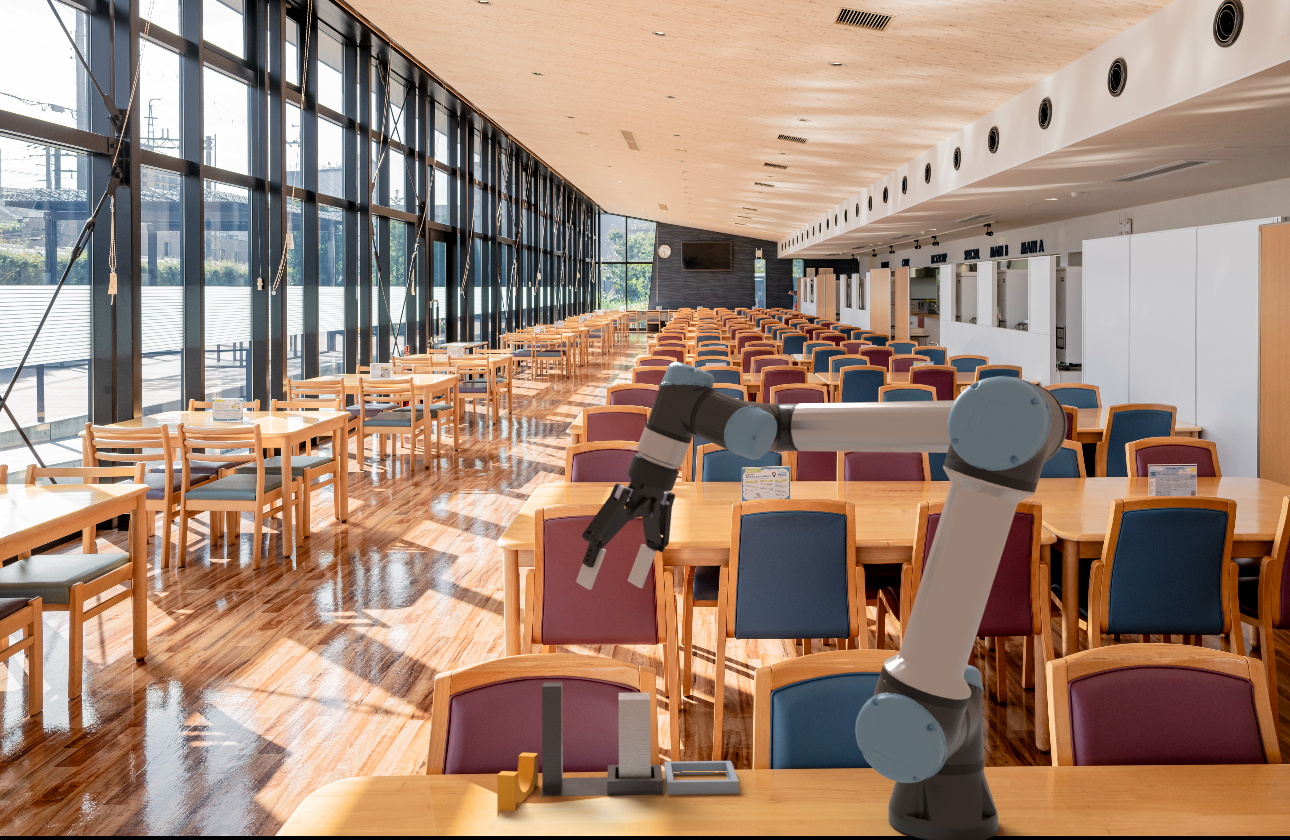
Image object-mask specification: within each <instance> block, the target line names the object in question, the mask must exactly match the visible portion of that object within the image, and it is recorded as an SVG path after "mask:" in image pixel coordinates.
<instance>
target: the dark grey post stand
mask: <svg viewBox="0 0 1290 840" xmlns="http://www.w3.org/2000/svg"><path fill="white" fill-rule="evenodd" d="M541 700H542V702H541V705H542V706H541V707H542V709H541V710H542V711H541V714H542V715H541V717H542V718H541V723H542V724H541V725H542V726H541V727H542V728H541V729H542V731H541V735H542V736H541V737H542V739H541V743H542V744H541V746H542V748H541V749H542V750H541V753H542V754H541V755H542V758H541V761H542V763H541V764H542V765H541V767H542V768H541V769H542V771H541V772H542V774H541V776H542V778H541V780H542V783H541V784H542V786H541V787H542V789H541V794H540V797H587V796H588V797H589V796H590V797H593V796H595V797H596V796H602V797H603V796H652V795H653V796H655V795H656V796H657V795H658V796H660V795H665V789H664V788H665V787H664V778H663V771H662V770H663V769H662V764H656V763H655V764H651V779H619V764H608V765H607V776H606V777H604V776H603V777H600V776H599V777H598V776H596V777H592V776H591V777H563V776H564V772H563V771H564V769H563V767H564V765H563V763H564V762H563V759H564V755H563V753H564V752H563V750H564V747H563V745H564V744H563V743H564V742H563V737H564V736H563V734H564V733H563V721H564V720H563V718H564V717H563V716H564V715H563V682H562V681H560V682H556V681H555V682H551V681H549V682H543V684H542V685H541Z"/></svg>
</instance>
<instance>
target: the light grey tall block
mask: <svg viewBox="0 0 1290 840" xmlns="http://www.w3.org/2000/svg"><path fill="white" fill-rule="evenodd" d="M651 720H652V719H651V693H650V692H649V691H648V692H618V765H619V779H651V765H652V757H651V756H652V751H651V750H652V745H651V744H652V743H651V742H652V741H651V740H652V739H651V738H652V736H651V735H652V734H651V733H652V731H651V730H652V729H651V727H652V726H651V725H652V724H651V723H652V721H651Z"/></svg>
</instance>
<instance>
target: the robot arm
mask: <svg viewBox="0 0 1290 840" xmlns="http://www.w3.org/2000/svg"><path fill="white" fill-rule="evenodd" d="M714 382H715V376H714V375H713V374H712V373H710V372H707V371H705V370H703V369H700V368H698V367H695V366H692V365H690V364H686V363H684V362H682V361H681V362H680V361H673V362H671V363H670V364H669V365H668V366H667V369H666V371H665V373H664V376H663V378H662V380H661V382H660V383H659V385H658V390H657V393H656V397H655V399H654V401H653V404H652V408H651V410H650V412H649V416H648V418H647V421H646V423H645V426H644V428H643V431H642V433H641V436H640V439H639V441H638V444H637V446H636V450H637V452H636V453H635V454H633V456H632V459H631V462H630V464H629V467H628V469H627V476H628V477H629V478H630V482H629V483H628V485H627V487H626V486H624V485H622V484H621V483H619V482H617V483H616V484H614V486H613V487H612V490H611V493H610V495H609V497H608V498H607V499H606V501H605V502H604V504H603V505H602V507H601V508H600V509H599V511H598V512H597V513H596V515H595V516H594V517H593V518H592V519H591V521H590V523H589V524H588V526H587V527H586V529H585V530H584V531H583V533H582V535H581V537H582V539H583V540H584V541H585V542H587V543H588V546H587V549H586V551H585V554H584V557H583V560H582V565H581V567H580V568H579V569H580V570H579V572H578V575H577V577H576V580H575V583H577V584H579V585H581V586H582V587H583V588H585V589H587V590H589V591H590V590H592V589H593V586H594V585H595V581H596V579H597V576H598V573H599V572H600V571H599V570H600V568H601V565H602V563H603V560H604V558H605V555H606V553H607V549H605V546H607V544H608V543H610V541H611V540H612V539H614V537H615V536H616V535H617V534H618V533H619V532H620V531H621V529H623V527H625V525H626V524H628V522H630V521H633V520H635V519H636V518H638V519H639V518H641V519H642V520H641V521H642V525H643V534H644V540H645V544H642V543H641V544H640V547H639V550H638V552H637V555H636V557H635V560H634V563H633V565H632V568H631V571H630V572H629V574H628V575H629V576H628V578H627V582H629V583H631V584H632V585H634V586H635V587H637V588H639V589H643V588H644V585H645V582H646V579H647V576H648V574H649V572H650V569H651V567H652V564H653V562H654V559H655V556H656V554H657V552H659V553H664V551H665V549H666V547H668V545H669V544H670V536H671V535H670V532H671V525H672V524H671V523H672V521H671V520H672V511H673V505H674V502H675V500H676V499H675V498H676V494H675V493H673V492H671V491H672V490H673V489H674V486H675V484H676V481H677V478H678V477H679V474H680V471H679V467H683V463H684V461H685V459H686V455H687V453H688V450H689V448H690V445H691V443H692V439H693V437H694V436H696V437H699V438H701V439H704V440H705V441H708V442H710V443H712V444H714V445H716V446H718V447H720V448H722V449H725V450H727V451H728V452H731V454H734V455H735V456H741V457H743V458H747V459H749V460H752V461H755V460H756V461H757V460H759V459H762V457H763V456H765V455H766V454H767V453H768V452H772V453H775V452H776V453H783V452H840V453H841V452H842V453H843V452H851V453H855V452H856V453H857V452H858V453H859V452H861V453H863V452H864V453H875V452H876V453H927V454H928V453H931V454H933V453H934V454H937V453H938V454H939V453H941V454H943V453H945V454H946V456H945V459H944V463H943V465H942V468H943V470H944V472H945V474H946V476H947V477H948V479H949V483H950V485H949V488H948V491H947V495H946V498H945V501H944V505H943V506H942V507H943V508H942V512H941V515H940V517H939V521H938V524H937V527H936V530H935V533H934V536H933V540H932V544H931V545H930V546H931V547H930V550H929V554H928V557H927V560H926V564H925V567H924V570H923V573H922V576H921V580H920V582H919V586H918V590H917V592H916V597H915V600H914V603H913V606H912V609H911V612H910V615H909V618H908V622H907V625H906V629H905V632H904V635H903V638H902V640H901V641H902V642H901V645H900V648H899V651H898V653H897V654H895V655H893V656H890V657H887V658H886V659H884V661H883V664H882V666H881V667H882V668H881V670H880V674H879V677H878V680H877V683H876V686H875V689H874V691H873V692H874V693H873V696H872V697H870V698H868V699H867V700H866V702H864V704H863V705H862V707H861V709H860V710H859V712H858V715H857V717H856V721H855V729H854V731H855V732H854V733H855V738H856V743H857V747H858V749H859V751H861V754H862V756H863V758H864V759H865V761H866V762H867V764H868V765H869V766H870V767H871V768H872V769H873V770H874V771H875V772H877V773H878V774H880V775H881V776H882V777H884V778H886V779H888V780H891V781H894V785H893V789H892V792H891V795H890V798H889V802H888V806H887V807H888V809H887V810H888V822H889V825H891V827H893V828H894V829H895V830H896V831H899V832H901V833H902V834H906V835H908V836H911V837H914V838H917V839H921V840H988V839H991V838H992V837H994V836H996V835H997V834H998V833H999V814H998V810H997V806H996V804H995V801H994V798H993V795H992V793H991V789H990V786H989V784H988V781H987V777H986V775H985V764H984V763H985V759H984V757H985V755H984V753H985V752H984V749H985V748H984V707H983V705H984V700H983V699H984V698H983V696H984V695H983V694H984V686H983V681H982V680H983V679H982V673H981V671H980V670H979V669H978V668H977V667H975V666H974V665H969V664H968V663H969V660H970V656H971V654H972V651H973V648H974V644H975V641H976V638H977V634H978V632H979V629H980V625H981V622H982V619H983V616H984V613H985V609H986V606H987V603H988V599H989V596H990V593H991V590H992V587H993V583H994V580H995V578H996V575H997V572H998V568H999V565H1000V562H1001V560H1002V559H1001V558H1002V555H1003V553H1004V549H1005V546H1006V542H1007V539H1008V536H1009V533H1010V530H1011V526H1012V524H1013V520H1014V517H1015V514H1016V511H1017V508H1018V505H1019V504H1020V503H1021V502H1022V501H1024V500H1026V499H1028V498H1030V497H1032V496H1033V495H1035V493H1036V490H1037V486H1038V484H1039V480H1040V477H1041V474H1042V471H1043V468H1044V465H1045V463H1046V462H1047V461H1049V460H1050V459H1051V458H1053V457H1054V456H1055V455H1056V454H1057V453H1058V452H1059V450H1060V449H1061V447H1062V446H1063V444H1064V442H1065V440H1066V437H1067V431H1068V418H1067V414H1066V411H1065V409H1064V406H1063V404H1062V403H1061V402H1060V400H1059V399H1058V398H1057V396H1056V395H1055V394H1054V393H1052V392H1051V391H1049V390H1048V389H1047V388H1045V387H1043V386H1041V385H1038V384H1035V383H1033V382H1032V383H1031V382H1030V381H1027V380H1024V379H1022V378H1020V377H1017V376H1016V377H1014V376H1009V375H997V376H996V375H995V376H993V377H986V378H982V379H980V380H978V381H976V382H973V383H972V384H970V385H968V386H967V387H966V388H965V389H963V390H962V391H961V392H960V394H959V395H958V396H957V397H956V399H955V400H915V401H913V400H912V401H911V400H908V401H867V402H866V401H865V402H862V401H860V402H824V403H823V402H817V403H816V402H815V403H813V402H812V403H811V402H810V403H762V402H755V401H747V400H741V399H737V398H735V397H734V396H730V395H728V394H725V393H722V392H720V391H718V390H716V389H715V388H713V387H714V384H715V383H714Z"/></svg>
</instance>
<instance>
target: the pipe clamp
mask: <svg viewBox="0 0 1290 840" xmlns="http://www.w3.org/2000/svg"><path fill="white" fill-rule="evenodd" d="M496 778H497V785H496V787H497V793H496V795H497V808H496V810H497V811H496V814H497V816H496V817H497V818H499V815H500V812H501V811H512V812H515V811H516V809H517V807H519V806H520V805H521V804H522V803H523V802H524V801H525V800H526V799H528V797H529V796H531V794H532V793H533V791H535V788H537V787H539V753H538V752H521V753H520V754H519V755H518V764H517V771H510V770H509V771H508V770H502V771H500V772H499V773H498V774H497V777H496Z"/></svg>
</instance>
